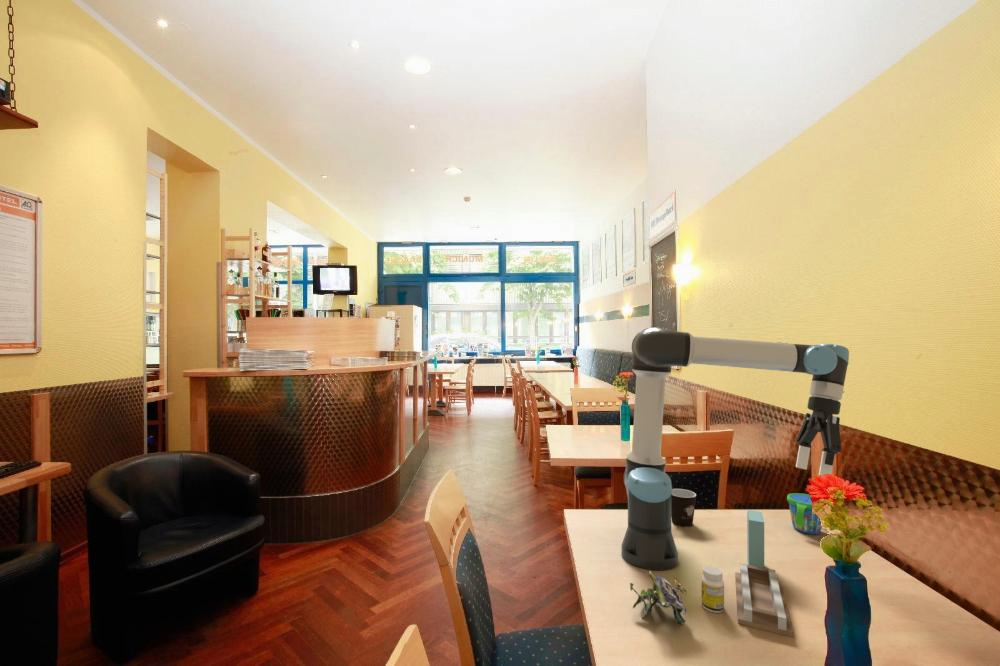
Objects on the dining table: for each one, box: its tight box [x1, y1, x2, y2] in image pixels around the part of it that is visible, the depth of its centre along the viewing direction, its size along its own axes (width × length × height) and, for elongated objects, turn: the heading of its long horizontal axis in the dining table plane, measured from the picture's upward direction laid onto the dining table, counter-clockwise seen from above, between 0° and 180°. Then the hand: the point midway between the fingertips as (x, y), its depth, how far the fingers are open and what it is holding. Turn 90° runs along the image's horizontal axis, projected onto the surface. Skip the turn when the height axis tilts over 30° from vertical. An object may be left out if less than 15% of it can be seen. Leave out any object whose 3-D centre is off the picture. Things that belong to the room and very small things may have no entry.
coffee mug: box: [671, 488, 697, 528], centre depth 151 cm, size 12×9×10 cm
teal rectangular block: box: [746, 509, 765, 568], centre depth 121 cm, size 8×4×14 cm, turn 154°
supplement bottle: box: [701, 565, 725, 614], centre depth 103 cm, size 5×5×8 cm
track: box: [735, 563, 794, 638], centre depth 105 cm, size 22×10×4 cm, turn 154°
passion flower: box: [629, 570, 688, 626], centre depth 99 cm, size 11×11×12 cm
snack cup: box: [786, 492, 823, 535], centre depth 146 cm, size 16×10×10 cm
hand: (812, 472), depth 128 cm, fingers open, 13 cm apart
